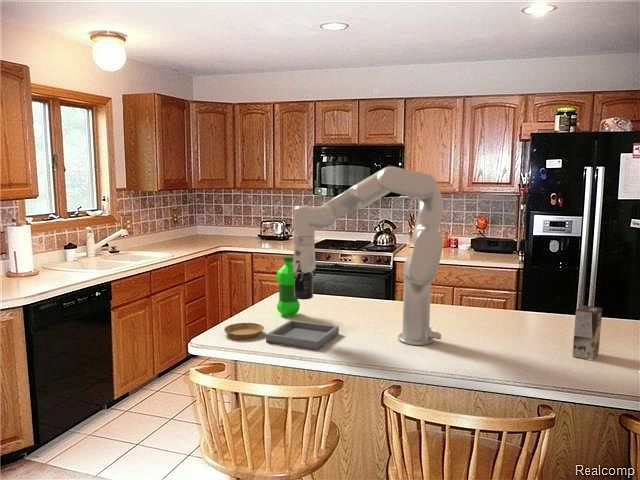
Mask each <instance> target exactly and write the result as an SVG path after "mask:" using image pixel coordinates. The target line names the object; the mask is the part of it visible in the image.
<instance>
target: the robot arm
mask: <svg viewBox="0 0 640 480" xmlns="http://www.w3.org/2000/svg"><path fill="white" fill-rule="evenodd" d="M438 186H439V185H438V182H437V180H436V178H435V177H434V176H433V175H431V174H429V173H425V172H424V173H423V172H419V171H414V170H410V169H405V168H401V167H397V166H393V165H392V166H385V167H384V168H382V169H380V170H377V171H376V172H375V173H373V174H372V175H369V176H368V177H366V178H364V179H362V180H361V181H360V182H358V183H356V184H354V185H352V186H351V187H349V188H348V189H347V190H345V191H344V192H342V193H341V194H339V195H337V196H335V197H334V198H332V199H330V200H328V201H327V202H324V203H323V204H322V205H320V206H312V205H297V206H295V207H294V208H293V245H294V248H293V262H292V265H293V274H294V280H295V291H297V292H303V291H304V281H302V280H303V276H304V273H309V272H311V273H312V274H313V275H314V273H313V272H314V271H315V270H316V267H317V265H316V263H317V262H316V248H315V238H316V237H315V236H316V235H315V231H316V230H315V228H316V227H319V228H330V227H332V226H333V225H334V224H335V223H336V221H337V220H339V219H340V218H343V217H344V216H346V215H347V214H350V213H351V212H354V211H356V210H360V209H363V208H366V207H367V206H369V205H371V204H373V203H374V202H376V201H377V200H379V199H381V198H382V197H385V196H387V195H388V194H390V193H395V194H398V195H403V196H407V197H414V198H416V199H417V203H418V209H417V210H418V211H417V214H416V215H417V216H416V220H415V224H414V229H413V231H412V236H411V241H412V244H413V252H412V254H411V255H409V256H408V257H407V258H406V260H405V261H404V263H403V269H402V270H403V300H402V301H403V302H402V303H403V304H402V307H403V308H402V332H401V333H399V334H398V336H397V340H398V341H399V342H401V343H404V344H406V345H410V346H411V345H412V346H425V345H426V346H427V345H430V344H432V343H433V342H434V339H435V340H441V339H442V334H441V333H440V332H438V331H433V330H432V327H430V320H431V319H430V318H431V317H430V316H431V299H432V297H431V296H432V295H431V293H432V291H431V290H432V289H431V288H432V282H434V280H435V278H436V276H437V274H438V270H439V267H440V262H441V257H442V253H443V249H444V237H443V234H442V233H441V231H440V228H441V223H442V218H443V212H444V200H443V196H442V192H441V191H440V188H439V187H438ZM298 271H302V272H298ZM299 274H301V277H300V275H299Z"/></svg>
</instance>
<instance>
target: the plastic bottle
mask: <svg viewBox="0 0 640 480" xmlns="http://www.w3.org/2000/svg"><path fill="white" fill-rule="evenodd" d="M293 256H294V255H293ZM293 256H292V255H286V256H285V255H284V256H283V262H284V264H283V266H282V267H280V268H279V269H278V270H277V273H276V275H275V279H276V282H277V283H278V284H279V285H278V286H279V287H278V289H279V290H278V291H279V293H278V297H279V298H278V299H279V300H278V302H277V305H276V309H277V311H278V313H279V314H280V315H282V316H283V317H288V318H289V316H290V317H294V316H295V315H296V314H298V312H299V310H300V307H301V306H300V300H299V299H296V298H295V297H294V274H293Z"/></svg>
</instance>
